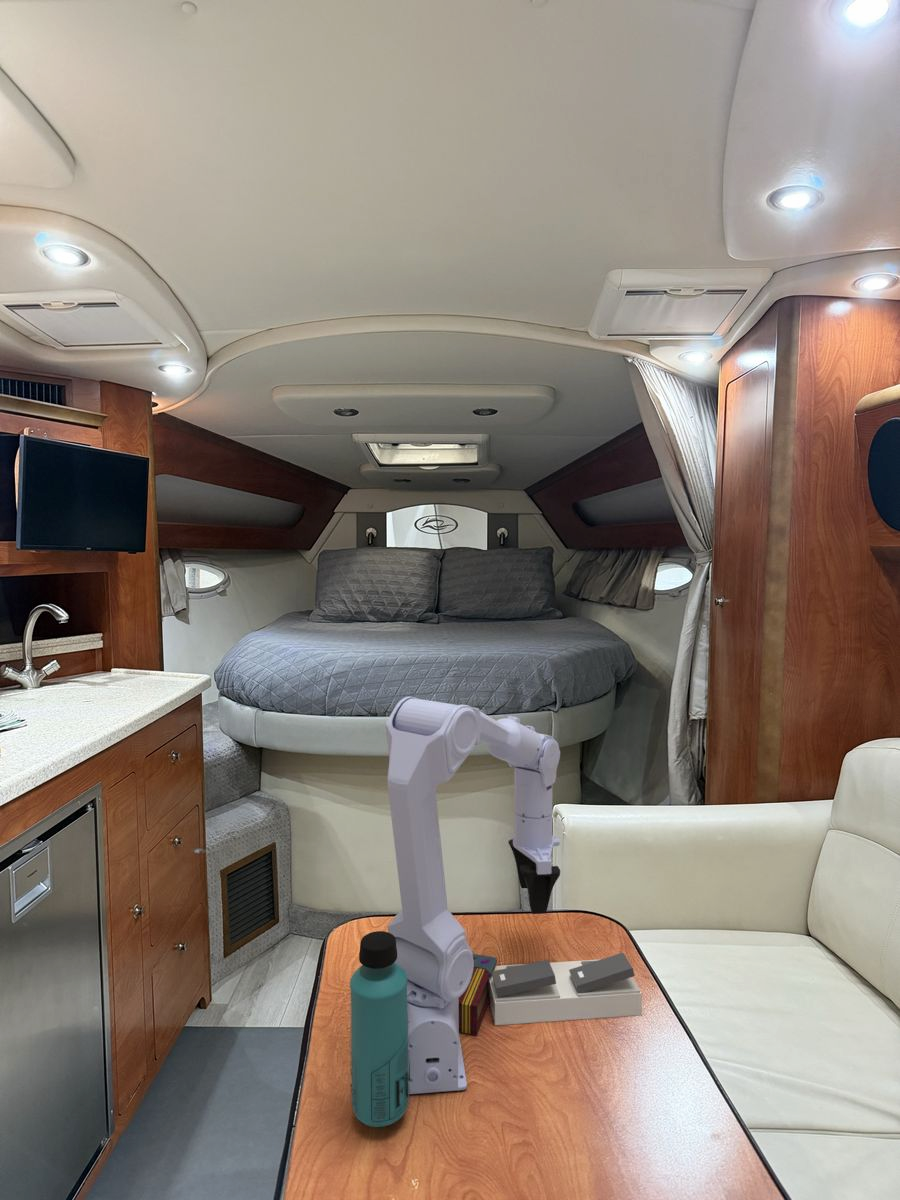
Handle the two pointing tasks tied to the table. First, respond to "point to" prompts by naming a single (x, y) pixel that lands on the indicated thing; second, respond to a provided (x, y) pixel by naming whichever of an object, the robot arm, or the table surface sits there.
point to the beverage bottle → (379, 1033)
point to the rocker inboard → (523, 977)
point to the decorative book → (476, 995)
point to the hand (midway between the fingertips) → (532, 899)
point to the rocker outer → (601, 973)
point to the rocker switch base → (564, 999)
